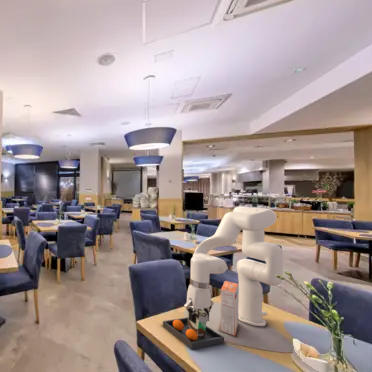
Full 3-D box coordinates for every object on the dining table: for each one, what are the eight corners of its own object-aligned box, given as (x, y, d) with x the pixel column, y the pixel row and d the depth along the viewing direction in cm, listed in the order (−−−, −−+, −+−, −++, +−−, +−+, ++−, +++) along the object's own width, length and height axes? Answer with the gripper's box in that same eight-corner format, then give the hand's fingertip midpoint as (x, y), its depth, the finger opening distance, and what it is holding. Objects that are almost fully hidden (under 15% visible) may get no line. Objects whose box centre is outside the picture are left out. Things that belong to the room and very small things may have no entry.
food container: (213, 341, 104) (214, 319, 104) (198, 339, 105) (199, 317, 105) (199, 324, 116) (200, 304, 116) (186, 323, 117) (187, 303, 117)
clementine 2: (191, 335, 107) (191, 326, 107) (200, 342, 103) (200, 332, 103) (183, 337, 106) (183, 327, 106) (191, 344, 102) (192, 333, 102)
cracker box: (223, 319, 122) (224, 280, 122) (238, 324, 118) (239, 283, 118) (219, 330, 112) (220, 288, 112) (235, 336, 108) (236, 292, 108)
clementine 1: (178, 326, 115) (178, 317, 115) (186, 332, 110) (186, 322, 110) (170, 327, 113) (170, 318, 113) (178, 333, 109) (178, 323, 109)
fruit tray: (191, 321, 120) (192, 316, 120) (224, 343, 104) (224, 337, 104) (162, 326, 115) (162, 321, 115) (191, 349, 99) (191, 343, 99)
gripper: (206, 278, 116) (205, 313, 116) (178, 281, 112) (177, 318, 112) (221, 285, 109) (220, 322, 109) (191, 288, 105) (190, 327, 105)
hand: (198, 320), depth 110 cm, fingers closed on food container, 7 cm apart
